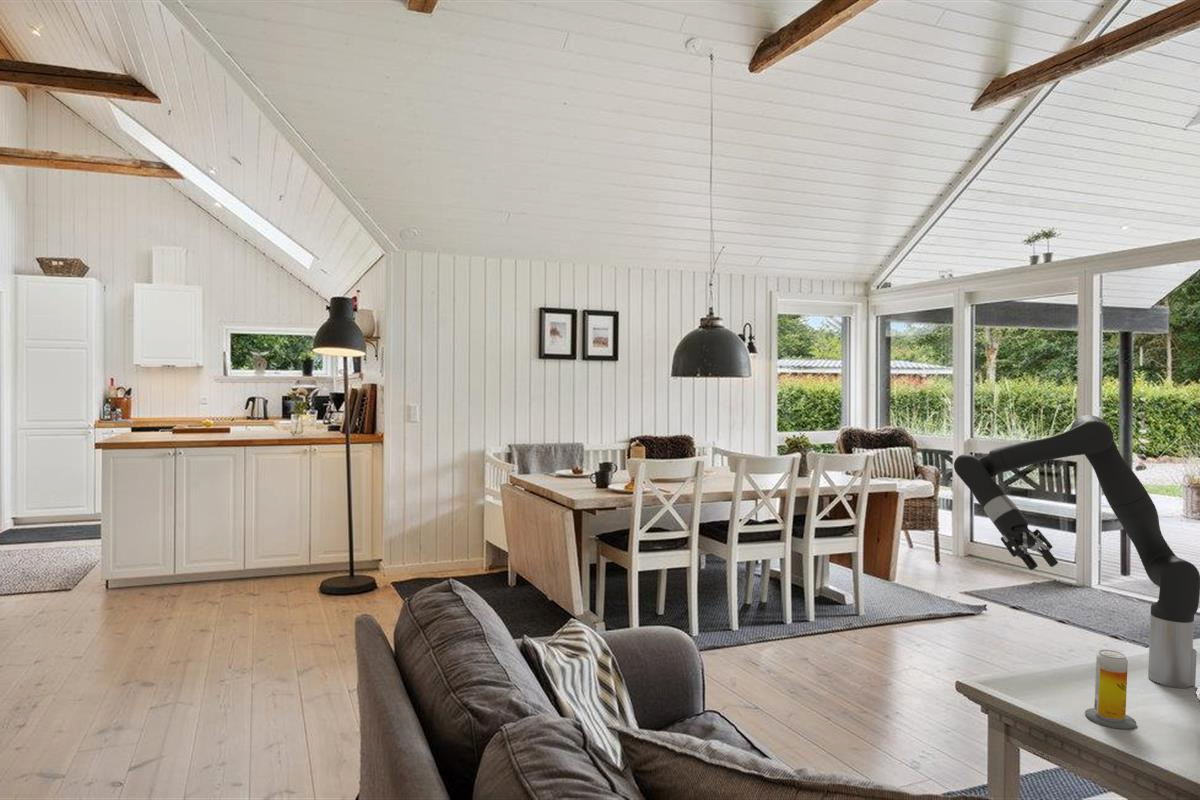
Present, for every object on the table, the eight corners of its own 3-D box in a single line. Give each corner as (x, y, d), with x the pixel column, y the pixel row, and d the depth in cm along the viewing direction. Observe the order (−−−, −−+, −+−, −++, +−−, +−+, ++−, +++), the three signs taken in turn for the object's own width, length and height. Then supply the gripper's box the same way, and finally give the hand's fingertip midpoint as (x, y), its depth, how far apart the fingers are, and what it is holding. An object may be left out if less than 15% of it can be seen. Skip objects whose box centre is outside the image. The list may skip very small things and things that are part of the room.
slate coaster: (1118, 711, 183) (1118, 708, 183) (1146, 730, 173) (1146, 727, 173) (1075, 709, 183) (1075, 707, 183) (1101, 728, 173) (1101, 726, 173)
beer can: (1130, 724, 174) (1132, 659, 174) (1100, 721, 176) (1103, 657, 175) (1118, 712, 180) (1120, 650, 180) (1089, 709, 182) (1092, 647, 181)
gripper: (997, 509, 203) (1038, 561, 193) (1031, 506, 210) (1071, 556, 200) (979, 525, 208) (1017, 577, 198) (1012, 521, 214) (1051, 571, 205)
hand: (1044, 566), depth 199 cm, fingers open, 8 cm apart
